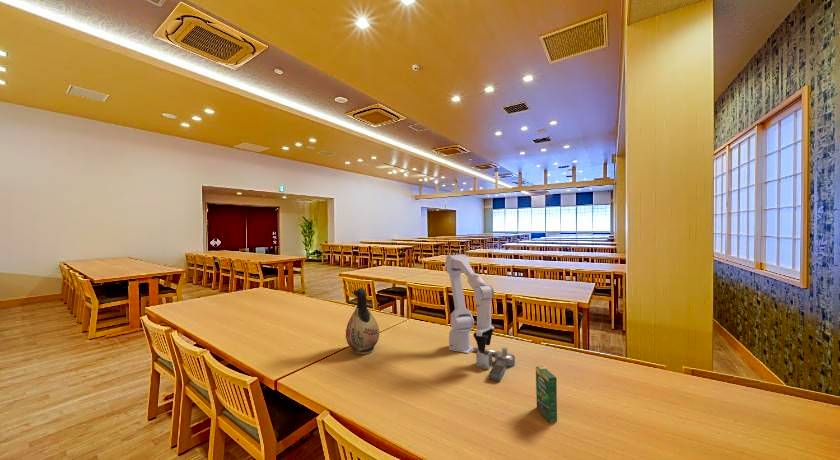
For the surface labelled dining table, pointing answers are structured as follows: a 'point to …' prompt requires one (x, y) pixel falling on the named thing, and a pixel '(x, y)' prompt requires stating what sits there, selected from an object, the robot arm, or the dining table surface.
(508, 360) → the ratchet
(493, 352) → the bar
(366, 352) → the ceramic jug
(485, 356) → the socket
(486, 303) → the robot arm
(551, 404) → the coffee box
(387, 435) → the dining table surface
